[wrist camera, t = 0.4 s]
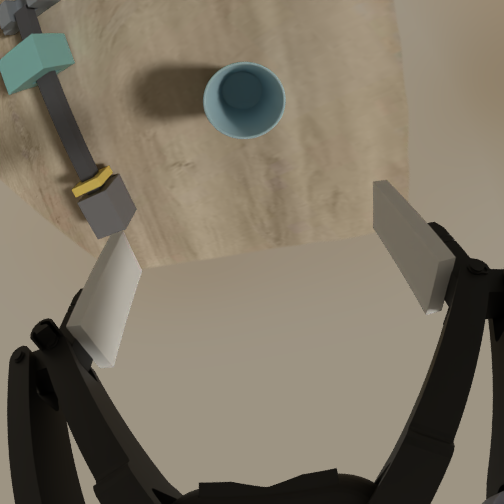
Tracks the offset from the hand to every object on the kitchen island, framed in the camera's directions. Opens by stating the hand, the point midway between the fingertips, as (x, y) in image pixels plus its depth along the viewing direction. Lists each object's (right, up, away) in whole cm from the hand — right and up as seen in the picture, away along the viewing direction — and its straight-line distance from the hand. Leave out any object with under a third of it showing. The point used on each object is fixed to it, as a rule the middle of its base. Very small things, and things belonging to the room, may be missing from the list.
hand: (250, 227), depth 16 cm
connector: (-20, +7, +27) cm, 34 cm away
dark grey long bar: (-24, +18, +18) cm, 35 cm away
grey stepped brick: (-29, +32, +9) cm, 44 cm away
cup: (-1, +19, +20) cm, 27 cm away
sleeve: (-26, +25, +14) cm, 39 cm away
